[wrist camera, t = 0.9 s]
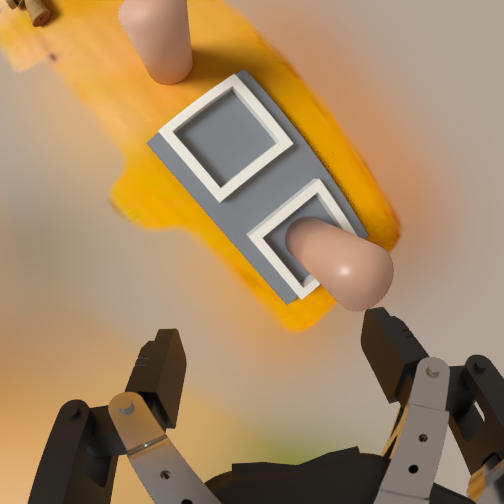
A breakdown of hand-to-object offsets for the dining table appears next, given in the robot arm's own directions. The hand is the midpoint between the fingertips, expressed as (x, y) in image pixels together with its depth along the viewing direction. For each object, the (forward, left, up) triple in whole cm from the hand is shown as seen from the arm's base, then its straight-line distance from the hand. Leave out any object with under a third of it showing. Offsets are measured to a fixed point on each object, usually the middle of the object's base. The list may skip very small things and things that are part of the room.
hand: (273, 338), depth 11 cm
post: (-14, +16, -21) cm, 29 cm away
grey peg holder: (+1, +6, -21) cm, 22 cm away
